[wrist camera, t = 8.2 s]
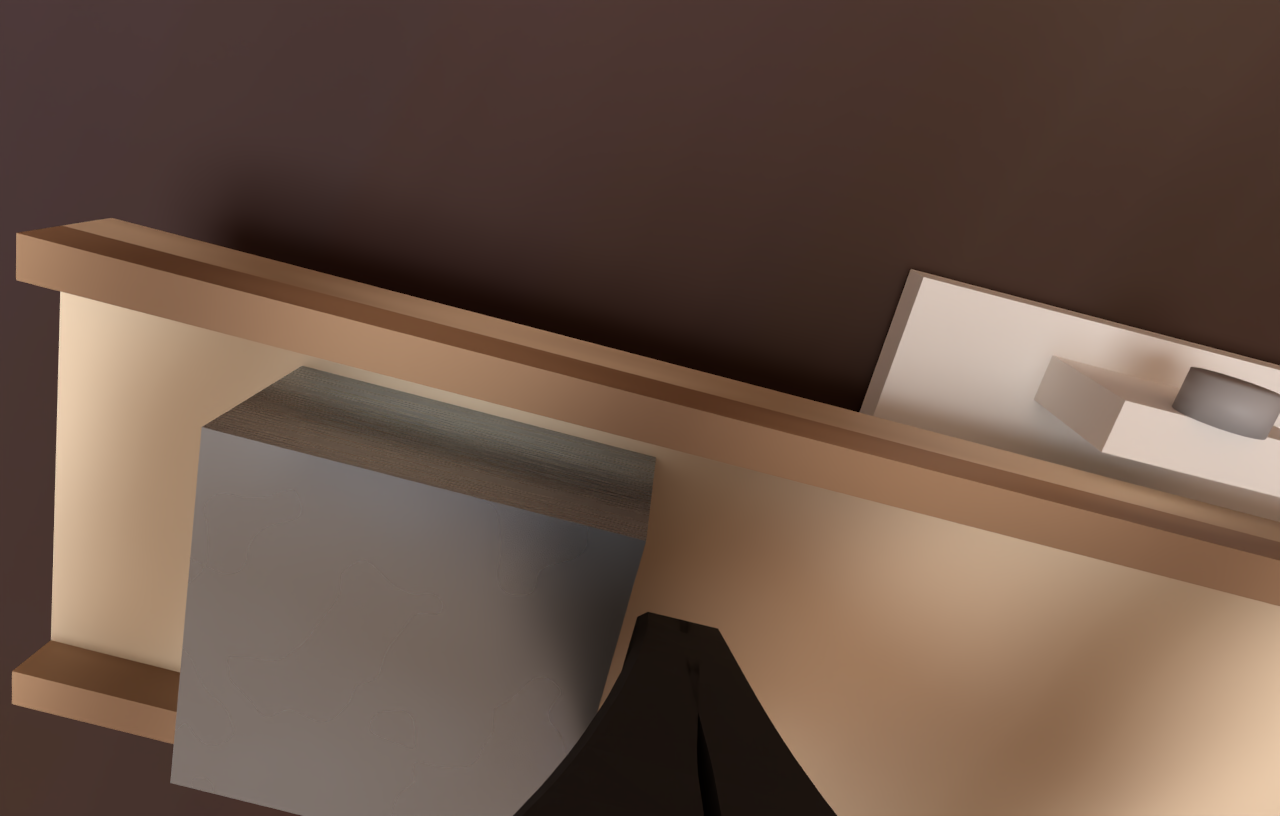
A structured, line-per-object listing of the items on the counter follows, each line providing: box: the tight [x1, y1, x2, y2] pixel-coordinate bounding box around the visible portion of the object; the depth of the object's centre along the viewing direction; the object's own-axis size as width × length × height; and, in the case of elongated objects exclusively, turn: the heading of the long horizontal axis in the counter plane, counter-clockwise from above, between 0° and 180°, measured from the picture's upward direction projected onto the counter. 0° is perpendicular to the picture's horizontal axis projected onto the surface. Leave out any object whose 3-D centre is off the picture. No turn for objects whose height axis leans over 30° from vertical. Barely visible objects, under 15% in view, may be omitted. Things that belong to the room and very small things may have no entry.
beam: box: [12, 218, 1280, 816], centre depth 13 cm, size 32×7×2 cm, turn 76°
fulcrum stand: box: [859, 269, 1280, 522], centre depth 15 cm, size 11×8×4 cm
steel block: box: [170, 366, 656, 816], centre depth 11 cm, size 5×5×2 cm
